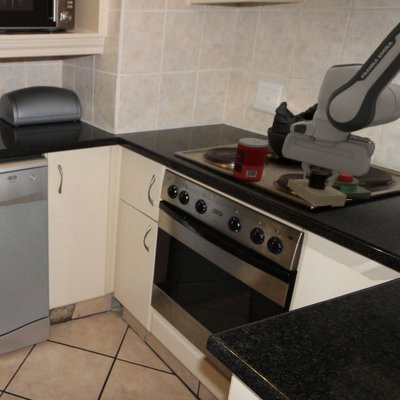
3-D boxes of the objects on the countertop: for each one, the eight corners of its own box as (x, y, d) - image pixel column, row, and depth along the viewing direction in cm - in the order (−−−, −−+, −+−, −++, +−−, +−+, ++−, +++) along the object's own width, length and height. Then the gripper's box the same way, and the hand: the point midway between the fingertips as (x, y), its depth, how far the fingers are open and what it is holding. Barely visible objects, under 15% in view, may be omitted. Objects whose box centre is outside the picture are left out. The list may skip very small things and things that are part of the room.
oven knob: (328, 187, 124) (332, 171, 122) (320, 190, 122) (324, 174, 120) (312, 183, 127) (316, 167, 125) (305, 186, 125) (308, 170, 123)
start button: (354, 182, 126) (356, 176, 125) (342, 182, 126) (344, 176, 125) (345, 177, 129) (347, 171, 129) (333, 178, 129) (334, 172, 128)
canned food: (266, 179, 138) (274, 142, 134) (250, 184, 134) (257, 146, 130) (243, 171, 144) (249, 136, 140) (226, 176, 140) (233, 140, 135)
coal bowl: (347, 165, 148) (361, 105, 142) (306, 176, 140) (318, 111, 133) (289, 151, 165) (299, 96, 158) (249, 159, 156) (258, 101, 150)
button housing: (369, 200, 124) (373, 185, 123) (341, 201, 123) (345, 186, 122) (339, 184, 134) (343, 171, 133) (313, 185, 133) (317, 172, 132)
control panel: (344, 206, 120) (347, 194, 119) (314, 207, 119) (317, 195, 118) (313, 188, 131) (316, 177, 130) (285, 189, 130) (288, 178, 129)
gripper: (383, 137, 112) (366, 191, 118) (297, 120, 128) (286, 169, 133) (371, 141, 109) (355, 197, 114) (284, 123, 124) (274, 173, 129)
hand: (317, 182), depth 124 cm, fingers closed on oven knob, 4 cm apart
